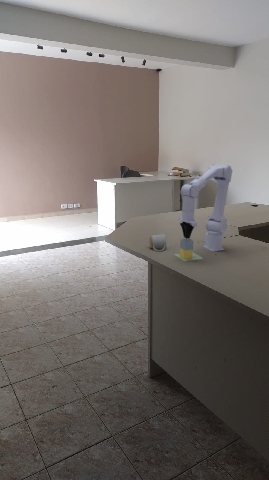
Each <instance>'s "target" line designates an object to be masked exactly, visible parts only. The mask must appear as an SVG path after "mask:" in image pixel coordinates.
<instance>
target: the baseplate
mask: <svg viewBox="0 0 269 480" xmlns="http://www.w3.org/2000/svg"><path fill="white" fill-rule="evenodd" d="M173 255H174V256H175V257H177V258H179V259H180V260H182V262H189V261H196V260H198V261H199V260H203V259H204V257H202V256H200V255H198V254H197V253H195V252H194V251H193V252H192V258H191V259H183V258H181V257H180V253H174V254H173Z"/></svg>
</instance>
